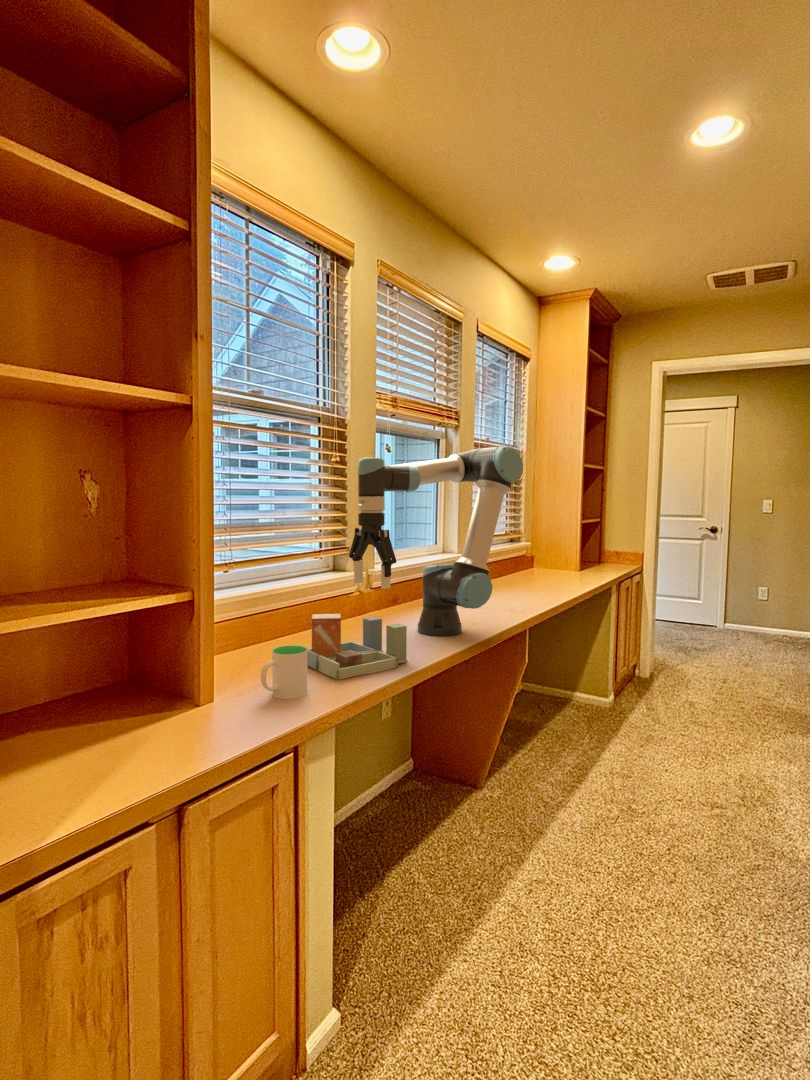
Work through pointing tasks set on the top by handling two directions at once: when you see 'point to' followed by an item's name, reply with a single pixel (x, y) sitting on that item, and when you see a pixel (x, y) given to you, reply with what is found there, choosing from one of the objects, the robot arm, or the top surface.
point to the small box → (326, 634)
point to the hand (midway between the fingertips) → (371, 585)
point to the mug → (287, 672)
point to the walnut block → (348, 658)
